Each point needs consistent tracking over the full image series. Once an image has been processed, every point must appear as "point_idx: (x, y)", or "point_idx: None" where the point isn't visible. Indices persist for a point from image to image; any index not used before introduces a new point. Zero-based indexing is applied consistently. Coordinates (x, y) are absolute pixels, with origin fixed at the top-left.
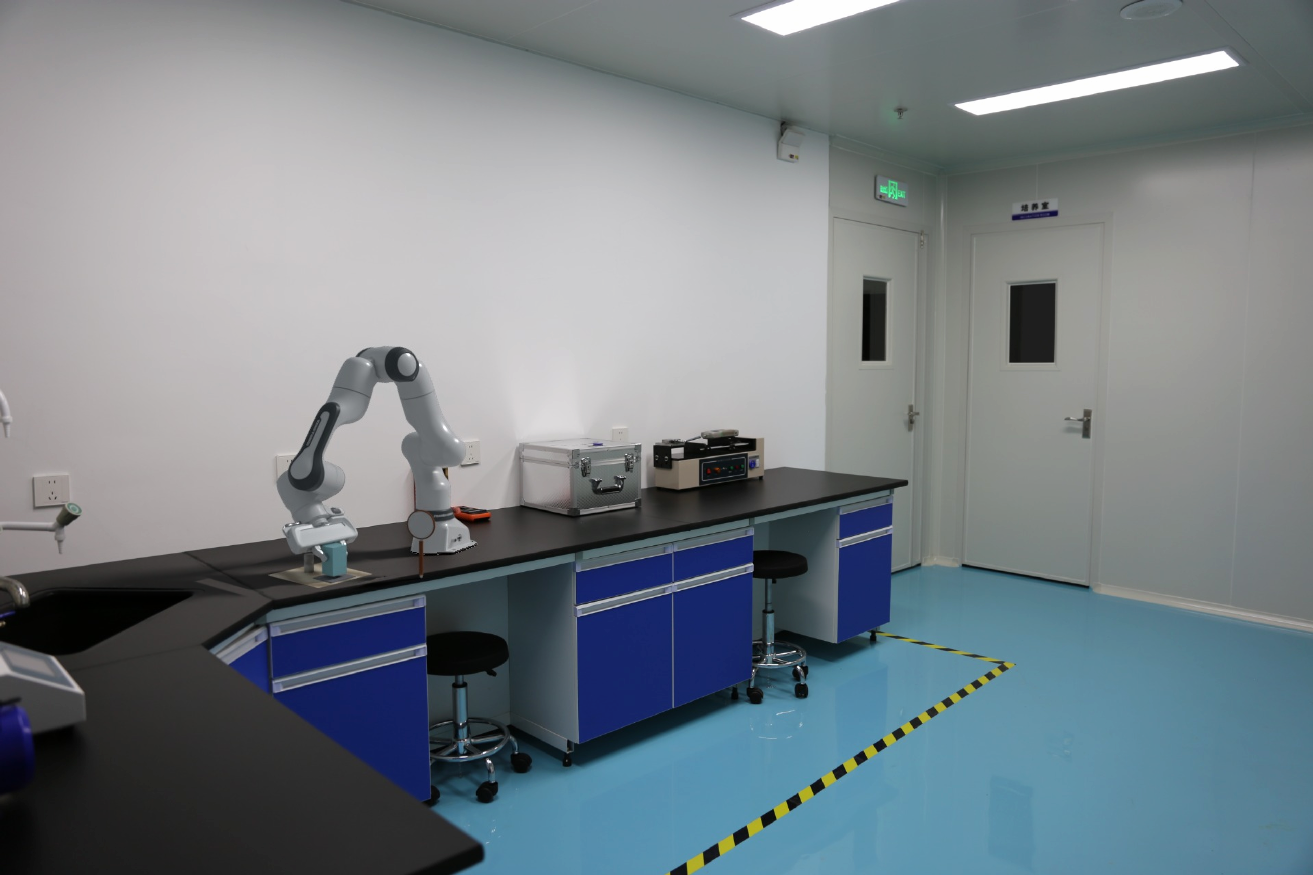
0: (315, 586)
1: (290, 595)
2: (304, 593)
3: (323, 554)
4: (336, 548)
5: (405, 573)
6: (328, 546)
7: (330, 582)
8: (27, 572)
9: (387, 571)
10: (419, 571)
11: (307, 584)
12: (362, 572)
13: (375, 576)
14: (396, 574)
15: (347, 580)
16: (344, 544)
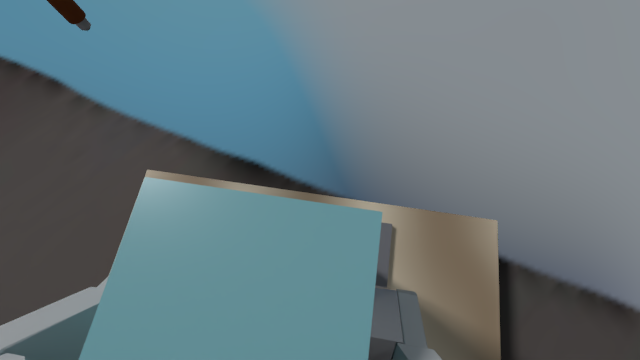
0: (487, 257)
1: (600, 333)
2: (526, 292)
3: (421, 336)
4: (314, 207)
5: (31, 118)
6: (337, 352)
7: (390, 235)
8: None
9: (10, 211)
10: (72, 5)
11: (489, 336)
12: None
13: (114, 199)
14: (56, 139)
15: (305, 193)
16: (14, 334)
